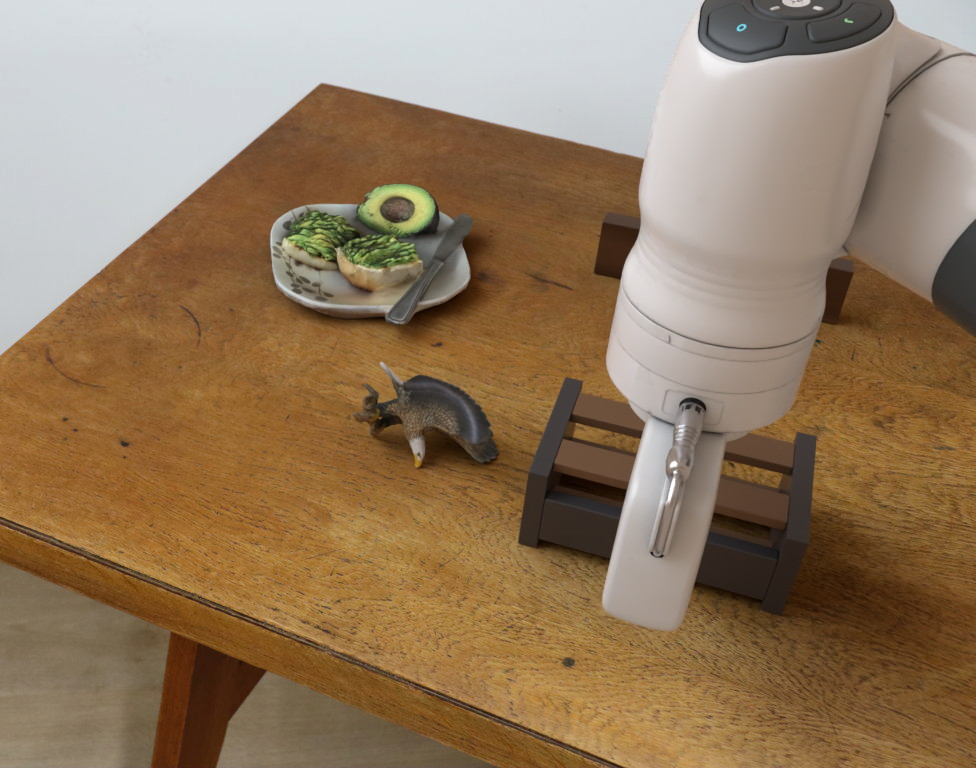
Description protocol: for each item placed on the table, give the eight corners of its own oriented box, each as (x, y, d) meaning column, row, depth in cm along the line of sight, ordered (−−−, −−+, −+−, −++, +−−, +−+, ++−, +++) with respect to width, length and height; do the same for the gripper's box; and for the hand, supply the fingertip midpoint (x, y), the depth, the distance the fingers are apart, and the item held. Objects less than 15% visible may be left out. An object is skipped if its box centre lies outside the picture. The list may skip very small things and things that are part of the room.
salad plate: (500, 340, 86) (506, 290, 83) (269, 344, 84) (267, 293, 82) (466, 218, 101) (470, 172, 99) (269, 219, 100) (268, 172, 97)
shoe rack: (553, 445, 76) (565, 376, 73) (792, 505, 73) (817, 435, 69) (517, 543, 69) (528, 471, 65) (781, 616, 65) (808, 544, 61)
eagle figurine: (354, 476, 71) (494, 472, 70) (348, 366, 71) (488, 359, 69) (378, 460, 79) (504, 456, 77) (372, 360, 78) (499, 354, 77)
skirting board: (598, 262, 96) (607, 210, 93) (836, 312, 91) (854, 260, 88) (593, 273, 95) (602, 221, 92) (836, 324, 90) (854, 272, 87)
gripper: (757, 509, 42) (685, 727, 51) (791, 255, 58) (731, 454, 66) (595, 467, 44) (550, 686, 52) (670, 231, 59) (626, 429, 68)
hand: (652, 555), depth 59 cm, fingers closed
